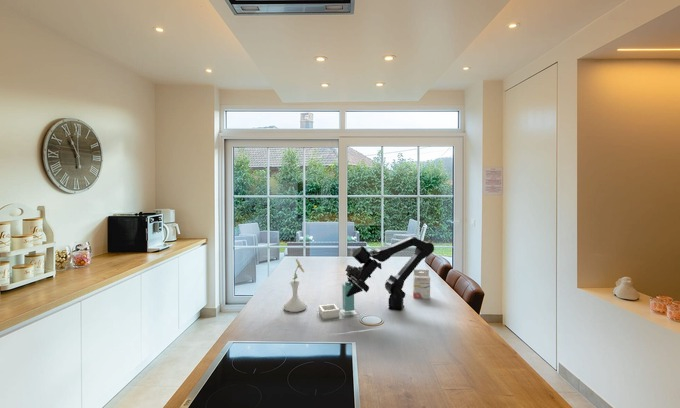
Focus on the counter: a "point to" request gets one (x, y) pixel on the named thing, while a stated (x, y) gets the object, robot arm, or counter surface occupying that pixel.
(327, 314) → the grey board with socket
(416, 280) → the ink cartridge box
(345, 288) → the plug
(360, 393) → the counter surface
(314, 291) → the counter surface
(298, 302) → the flower in vase
